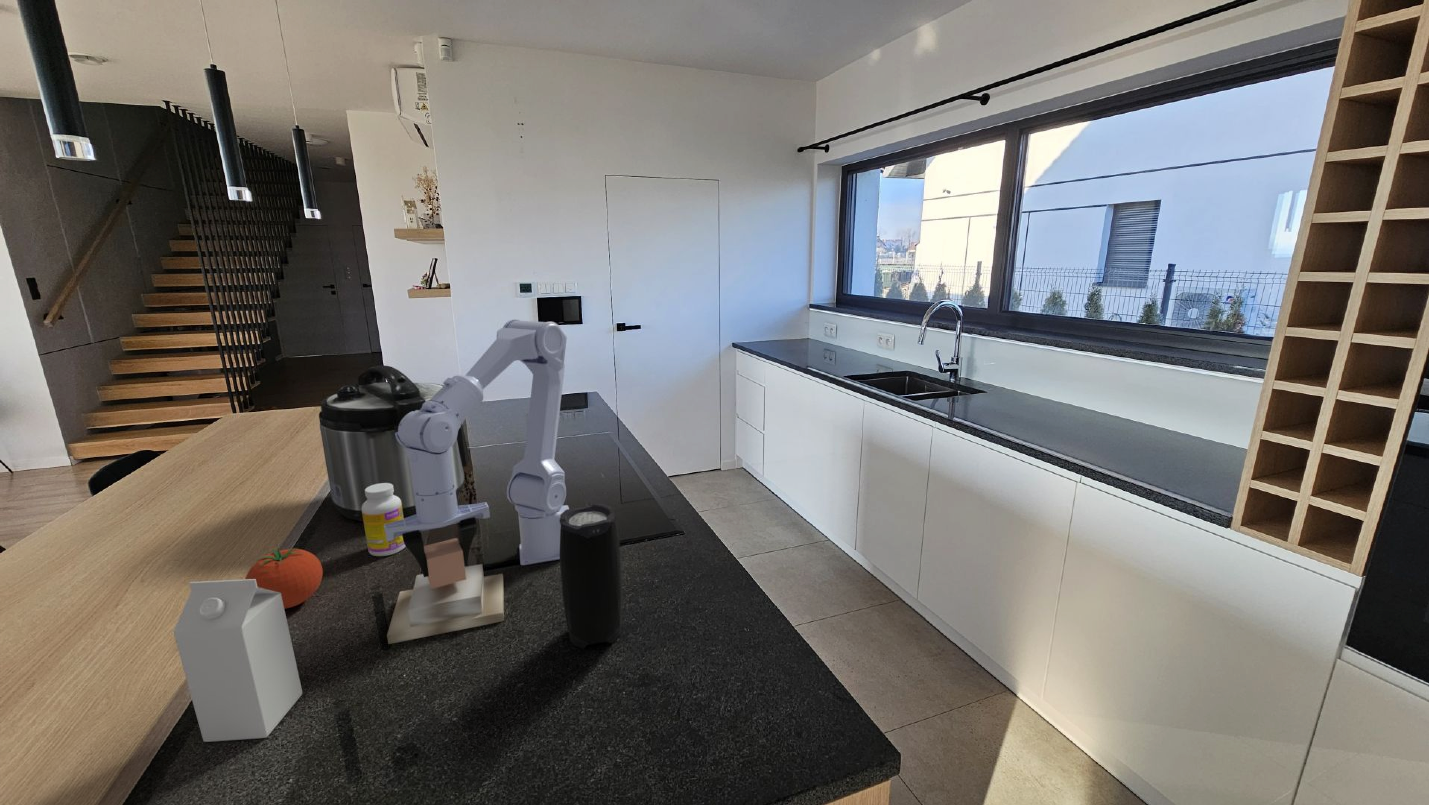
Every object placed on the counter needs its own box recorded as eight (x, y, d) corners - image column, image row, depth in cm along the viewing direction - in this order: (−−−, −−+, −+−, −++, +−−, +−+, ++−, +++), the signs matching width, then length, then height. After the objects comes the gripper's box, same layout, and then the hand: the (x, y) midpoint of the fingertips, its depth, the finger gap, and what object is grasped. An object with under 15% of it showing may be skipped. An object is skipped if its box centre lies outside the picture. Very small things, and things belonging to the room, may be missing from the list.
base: (503, 581, 101) (500, 558, 100) (503, 621, 90) (501, 595, 89) (401, 599, 96) (397, 575, 95) (388, 644, 85) (383, 617, 84)
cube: (460, 565, 95) (456, 537, 94) (466, 579, 91) (462, 550, 90) (426, 574, 92) (422, 546, 91) (431, 589, 88) (427, 559, 87)
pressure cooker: (458, 522, 123) (439, 377, 116) (309, 536, 118) (279, 384, 110) (481, 472, 152) (467, 352, 144) (362, 481, 146) (341, 357, 138)
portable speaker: (614, 609, 93) (608, 496, 88) (632, 643, 85) (627, 521, 80) (560, 623, 89) (551, 507, 84) (573, 661, 81) (564, 534, 76)
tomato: (319, 580, 102) (309, 528, 99) (334, 604, 95) (323, 549, 92) (246, 604, 95) (233, 549, 92) (255, 632, 88) (242, 573, 85)
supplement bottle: (390, 559, 108) (380, 495, 105) (360, 556, 110) (349, 493, 107) (415, 542, 115) (406, 482, 112) (386, 539, 116) (376, 479, 113)
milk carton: (245, 698, 75) (212, 566, 70) (303, 694, 75) (275, 563, 70) (203, 743, 68) (163, 600, 63) (267, 739, 68) (233, 597, 64)
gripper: (479, 470, 95) (487, 545, 98) (377, 490, 87) (391, 570, 90) (488, 484, 89) (497, 563, 92) (381, 506, 81) (395, 592, 85)
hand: (445, 568), depth 91 cm, fingers closed on cube, 5 cm apart
